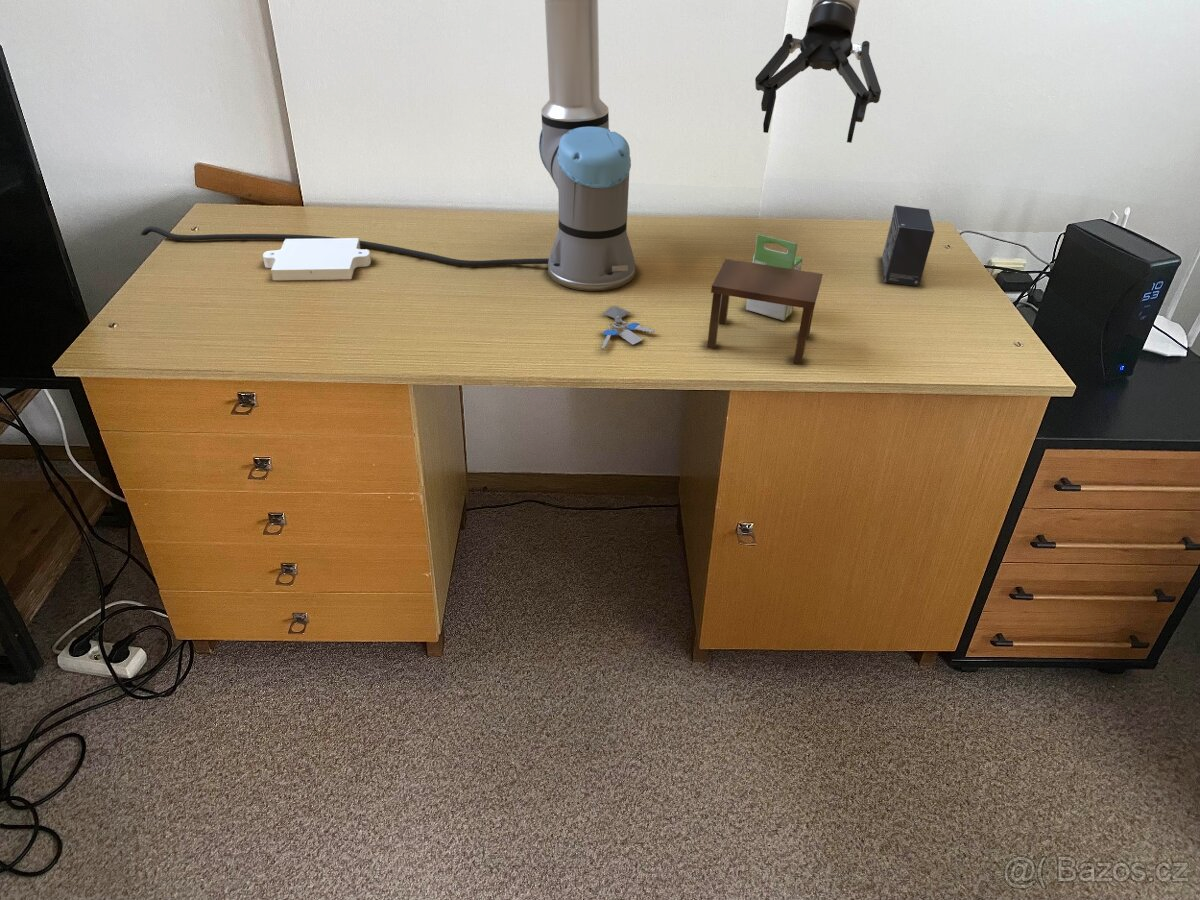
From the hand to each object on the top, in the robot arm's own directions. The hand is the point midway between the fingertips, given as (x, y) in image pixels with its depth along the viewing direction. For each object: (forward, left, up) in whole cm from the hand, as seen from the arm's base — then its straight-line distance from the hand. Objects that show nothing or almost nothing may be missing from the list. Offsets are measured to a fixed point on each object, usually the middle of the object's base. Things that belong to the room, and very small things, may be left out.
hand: (807, 133), depth 143 cm
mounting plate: (-78, -27, -24) cm, 86 cm away
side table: (0, -27, -24) cm, 36 cm away
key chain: (-20, -31, -24) cm, 44 cm away
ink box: (0, -16, -24) cm, 30 cm away
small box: (+20, +7, -24) cm, 32 cm away
